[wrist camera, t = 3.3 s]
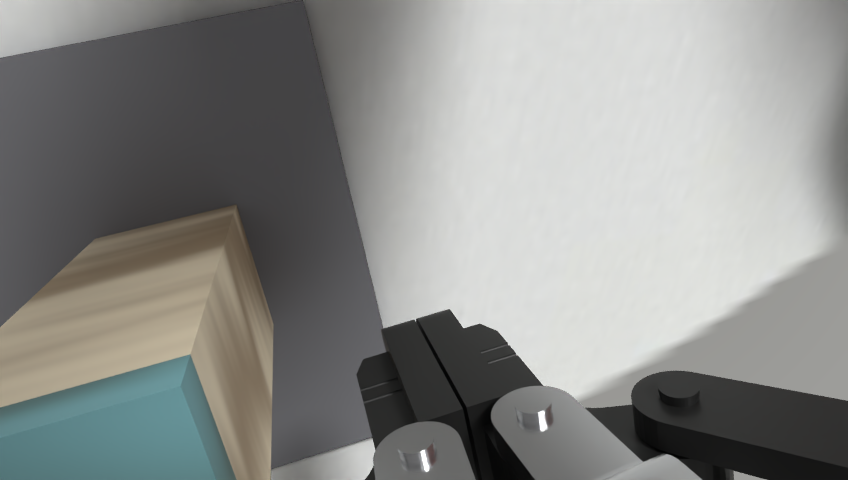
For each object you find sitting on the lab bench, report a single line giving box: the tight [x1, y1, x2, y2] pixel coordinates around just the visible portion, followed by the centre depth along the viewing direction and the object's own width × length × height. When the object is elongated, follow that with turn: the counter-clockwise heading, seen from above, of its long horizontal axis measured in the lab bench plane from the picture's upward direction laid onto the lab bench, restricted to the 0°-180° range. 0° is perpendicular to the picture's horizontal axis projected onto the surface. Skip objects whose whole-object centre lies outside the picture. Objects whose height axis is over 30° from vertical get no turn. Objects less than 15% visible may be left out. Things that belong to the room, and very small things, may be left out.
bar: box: [0, 205, 274, 480], centre depth 14 cm, size 4×4×12 cm
